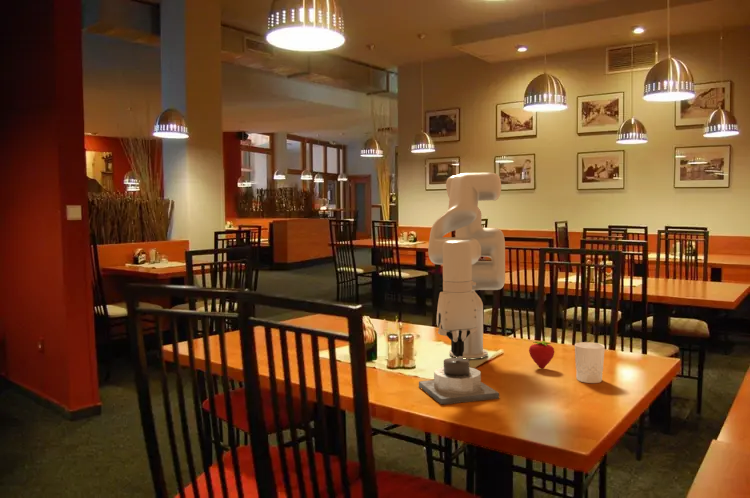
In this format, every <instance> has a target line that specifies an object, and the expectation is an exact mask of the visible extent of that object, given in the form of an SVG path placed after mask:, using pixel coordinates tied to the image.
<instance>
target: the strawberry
mask: <svg viewBox="0 0 750 498" xmlns="http://www.w3.org/2000/svg"><path fill="white" fill-rule="evenodd" d="M542 339H543V340H542V341H532V343H534V344H531V345H530V346H529V349H528V352H529V356H530V357H531V359H532V360H533V362H534V363H535V365H536V366H538V368H539V369H545V368H546V366H547V365H549V363H550V362H551V360H552V359H553V358H554V357H555V356H554V355H555V347H553V345H551V344H552V343H550V342H547V341H546V340H545V338H544V337H542Z"/></svg>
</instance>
